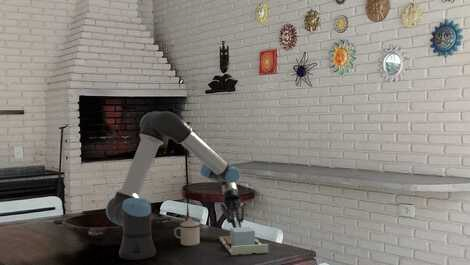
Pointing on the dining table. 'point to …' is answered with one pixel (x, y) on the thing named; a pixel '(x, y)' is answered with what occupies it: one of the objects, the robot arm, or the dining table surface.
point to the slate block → (242, 236)
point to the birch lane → (229, 238)
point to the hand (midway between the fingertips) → (238, 234)
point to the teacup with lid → (189, 232)
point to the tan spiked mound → (188, 215)
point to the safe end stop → (249, 249)
